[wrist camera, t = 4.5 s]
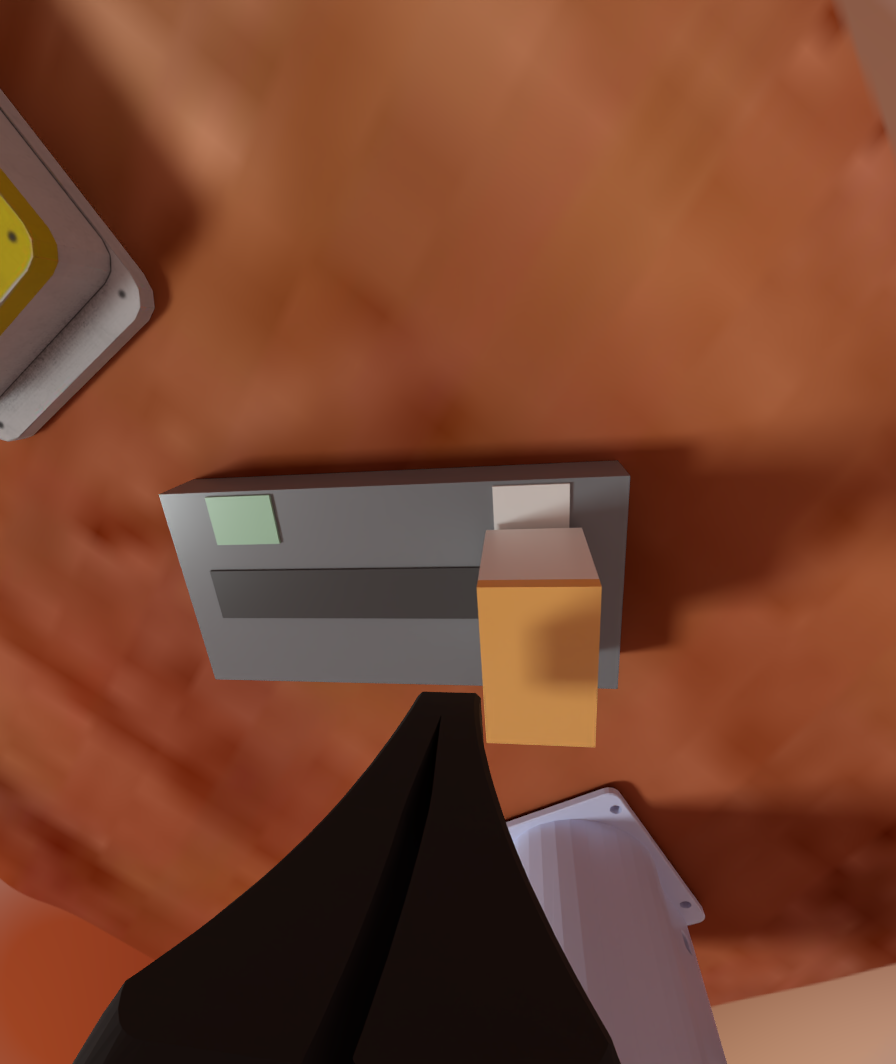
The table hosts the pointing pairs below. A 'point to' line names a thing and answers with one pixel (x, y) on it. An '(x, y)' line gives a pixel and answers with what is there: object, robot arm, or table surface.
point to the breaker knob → (539, 637)
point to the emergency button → (55, 284)
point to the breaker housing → (378, 565)
